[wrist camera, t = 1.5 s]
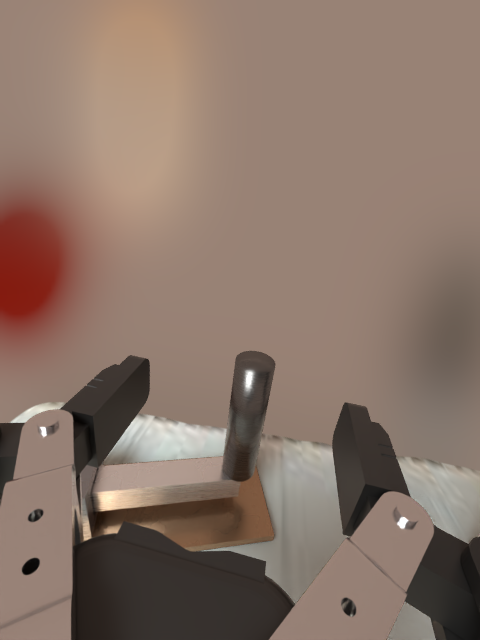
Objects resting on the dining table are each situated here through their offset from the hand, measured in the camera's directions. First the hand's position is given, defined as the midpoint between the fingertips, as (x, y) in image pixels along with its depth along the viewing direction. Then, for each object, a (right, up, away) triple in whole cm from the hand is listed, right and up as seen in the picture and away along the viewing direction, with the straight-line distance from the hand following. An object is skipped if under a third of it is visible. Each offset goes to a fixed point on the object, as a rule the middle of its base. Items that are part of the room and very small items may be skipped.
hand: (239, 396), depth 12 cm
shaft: (-7, -13, +17) cm, 23 cm away
